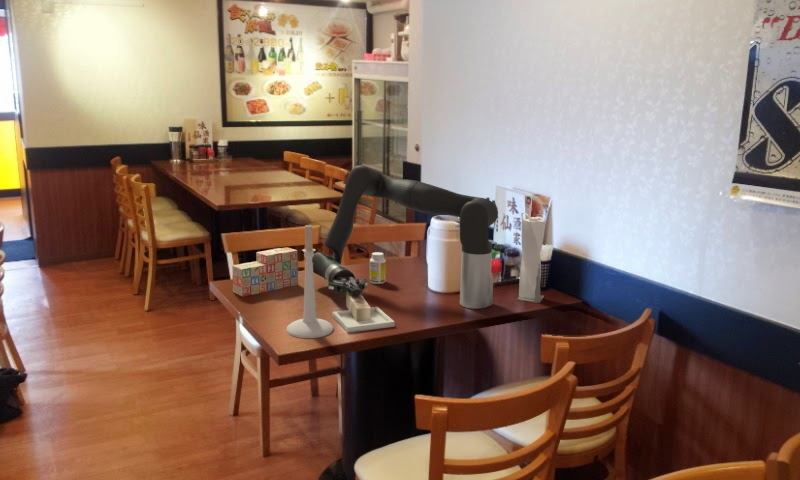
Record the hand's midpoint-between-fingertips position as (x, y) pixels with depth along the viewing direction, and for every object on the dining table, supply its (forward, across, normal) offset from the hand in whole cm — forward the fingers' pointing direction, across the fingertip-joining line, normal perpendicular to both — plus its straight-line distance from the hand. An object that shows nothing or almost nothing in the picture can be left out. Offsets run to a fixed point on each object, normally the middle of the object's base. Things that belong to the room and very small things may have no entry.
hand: (357, 293), depth 198 cm
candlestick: (+6, -16, +7) cm, 19 cm away
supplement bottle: (-31, +18, +7) cm, 37 cm away
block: (-4, 0, +3) cm, 5 cm away
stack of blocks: (-36, -19, +7) cm, 42 cm away
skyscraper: (+2, +58, +7) cm, 58 cm away
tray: (+5, 0, +7) cm, 9 cm away
